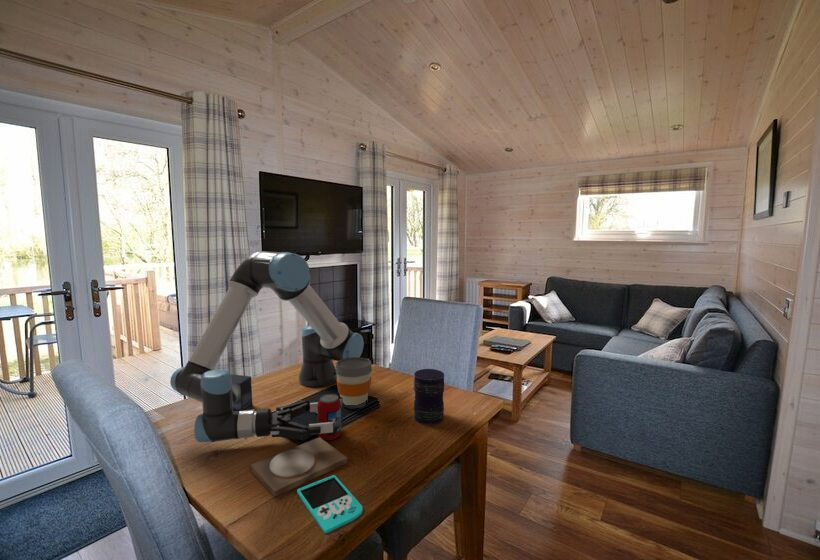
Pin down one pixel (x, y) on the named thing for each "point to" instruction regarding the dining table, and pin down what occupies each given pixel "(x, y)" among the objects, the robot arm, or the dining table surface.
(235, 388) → the small box
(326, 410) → the beverage can
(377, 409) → the dining table surface
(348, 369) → the reusable coffee cup
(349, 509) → the handheld game console
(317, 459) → the drinks board
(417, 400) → the dark blue cylinder
